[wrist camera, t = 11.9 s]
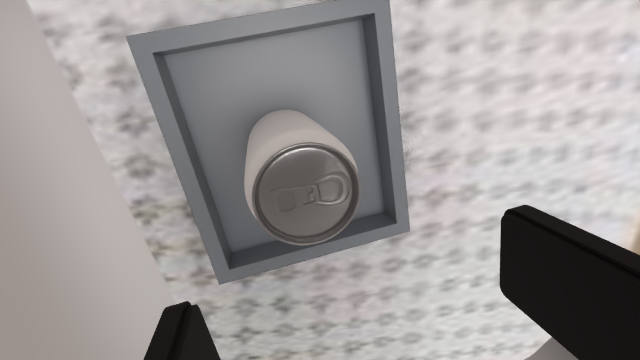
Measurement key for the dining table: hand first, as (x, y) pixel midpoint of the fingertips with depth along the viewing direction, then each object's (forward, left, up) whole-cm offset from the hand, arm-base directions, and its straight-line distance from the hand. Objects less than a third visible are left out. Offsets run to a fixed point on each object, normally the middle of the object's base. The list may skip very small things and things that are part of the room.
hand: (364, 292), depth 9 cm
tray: (0, 0, -20) cm, 20 cm away
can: (0, 0, -19) cm, 19 cm away
